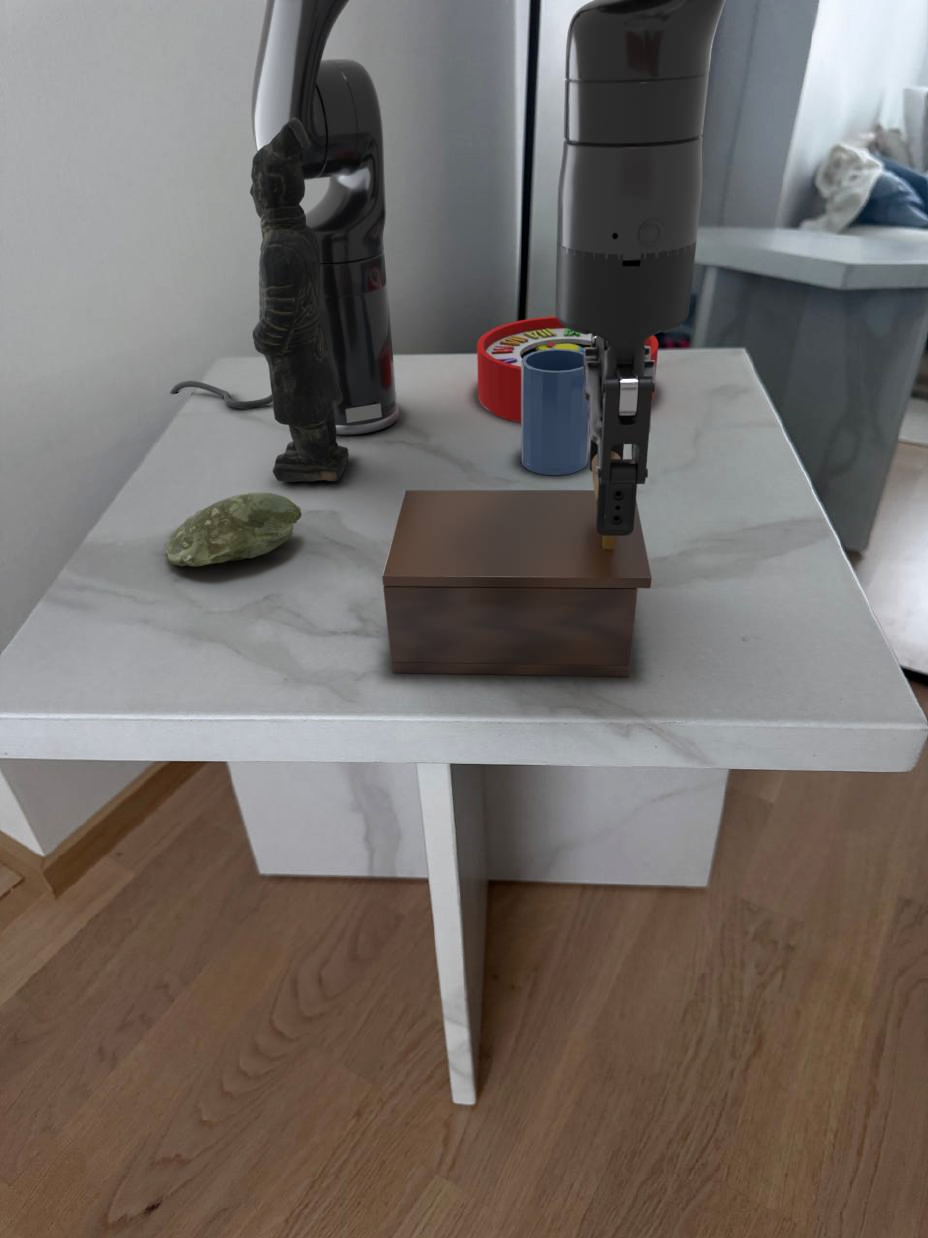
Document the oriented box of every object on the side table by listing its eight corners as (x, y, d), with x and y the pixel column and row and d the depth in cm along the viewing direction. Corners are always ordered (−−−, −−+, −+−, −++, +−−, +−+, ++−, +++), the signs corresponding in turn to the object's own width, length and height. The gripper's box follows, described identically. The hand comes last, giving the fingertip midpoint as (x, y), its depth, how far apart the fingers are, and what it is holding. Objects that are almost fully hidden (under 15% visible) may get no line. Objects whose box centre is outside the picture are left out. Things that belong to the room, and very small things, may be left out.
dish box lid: (633, 499, 62) (639, 430, 59) (650, 588, 53) (658, 511, 50) (406, 499, 64) (400, 432, 61) (382, 586, 54) (374, 511, 51)
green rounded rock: (162, 510, 75) (227, 429, 71) (235, 545, 79) (300, 471, 75) (161, 590, 68) (233, 506, 64) (241, 624, 73) (313, 547, 68)
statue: (292, 451, 89) (237, 114, 71) (357, 450, 88) (318, 111, 71) (268, 495, 80) (200, 128, 63) (340, 495, 80) (291, 124, 63)
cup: (508, 465, 84) (508, 363, 78) (545, 442, 88) (547, 344, 82) (564, 481, 81) (567, 376, 75) (599, 457, 85) (605, 356, 79)
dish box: (616, 580, 66) (622, 500, 63) (629, 676, 57) (637, 589, 53) (413, 578, 68) (406, 500, 64) (392, 673, 58) (383, 587, 54)
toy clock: (493, 314, 106) (660, 317, 102) (494, 361, 109) (655, 366, 105) (460, 369, 90) (656, 376, 86) (462, 423, 93) (651, 431, 89)
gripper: (554, 210, 53) (550, 455, 62) (559, 265, 41) (553, 557, 51) (679, 206, 52) (655, 454, 62) (719, 261, 41) (683, 557, 50)
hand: (609, 500), depth 56 cm, fingers open, 8 cm apart
